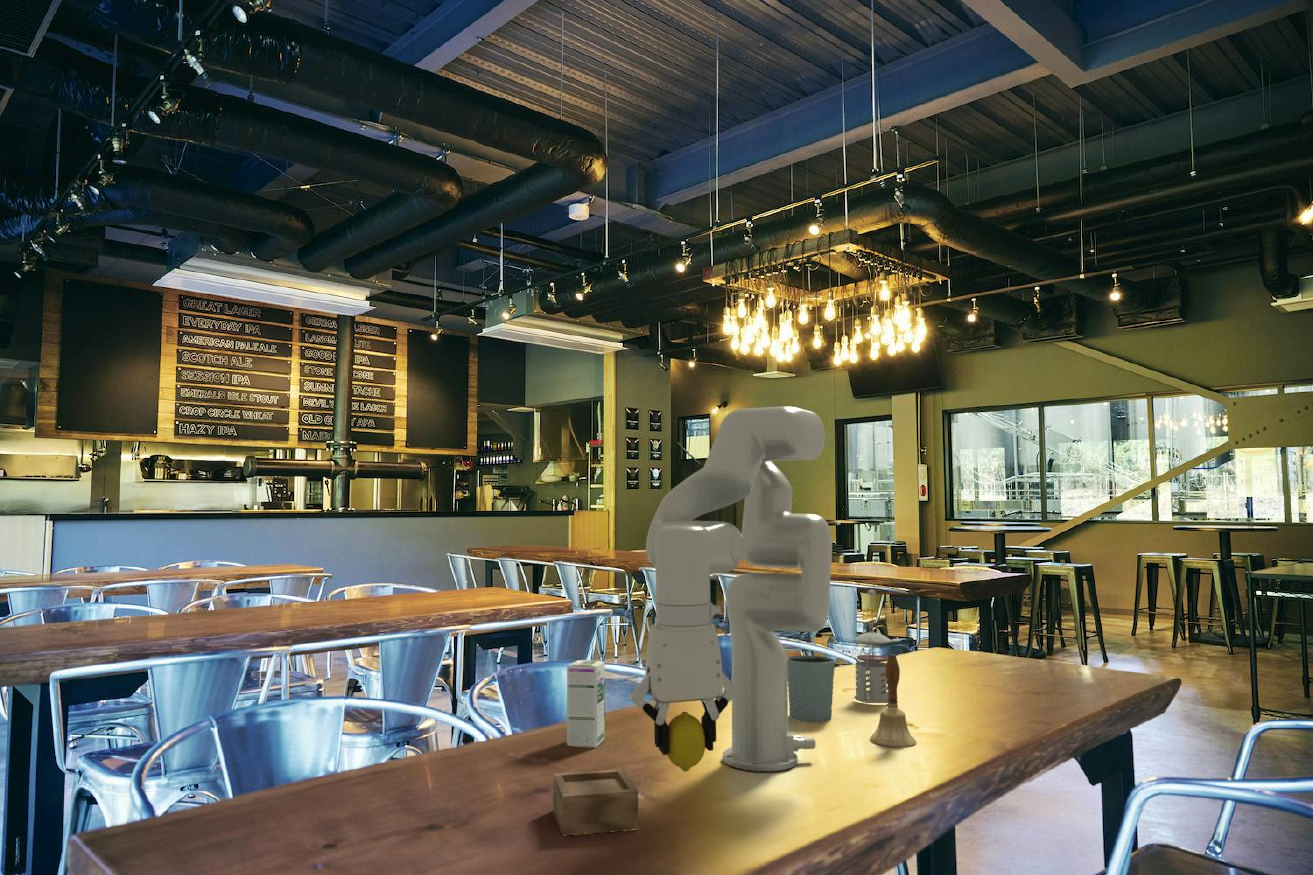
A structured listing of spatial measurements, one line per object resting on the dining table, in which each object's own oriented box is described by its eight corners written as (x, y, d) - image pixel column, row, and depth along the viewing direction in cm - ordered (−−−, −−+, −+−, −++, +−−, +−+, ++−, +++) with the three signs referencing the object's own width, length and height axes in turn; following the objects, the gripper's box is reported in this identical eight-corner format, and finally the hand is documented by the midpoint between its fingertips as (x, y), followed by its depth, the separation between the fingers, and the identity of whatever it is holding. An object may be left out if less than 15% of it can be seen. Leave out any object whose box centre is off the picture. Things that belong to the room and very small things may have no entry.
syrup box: (596, 748, 149) (598, 665, 151) (565, 746, 150) (566, 664, 152) (605, 740, 155) (606, 660, 156) (574, 738, 156) (575, 658, 157)
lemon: (663, 765, 116) (662, 707, 116) (702, 763, 117) (701, 705, 117) (667, 779, 110) (666, 718, 111) (708, 777, 111) (708, 716, 111)
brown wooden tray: (622, 804, 120) (623, 768, 120) (638, 830, 110) (638, 790, 110) (553, 810, 117) (553, 773, 118) (562, 836, 108) (563, 796, 108)
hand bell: (924, 741, 155) (922, 654, 157) (903, 750, 149) (901, 659, 151) (883, 733, 161) (881, 649, 163) (861, 741, 155) (860, 654, 157)
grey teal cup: (781, 720, 171) (780, 660, 172) (792, 709, 180) (791, 653, 182) (830, 725, 167) (830, 663, 168) (839, 714, 177) (838, 656, 178)
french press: (901, 699, 191) (899, 589, 194) (886, 709, 182) (883, 592, 184) (859, 694, 197) (858, 587, 199) (842, 703, 187) (840, 590, 189)
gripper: (733, 608, 120) (736, 736, 119) (616, 614, 116) (618, 747, 115) (752, 616, 113) (754, 752, 112) (627, 623, 109) (629, 764, 108)
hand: (685, 748), depth 113 cm, fingers closed on lemon, 5 cm apart
